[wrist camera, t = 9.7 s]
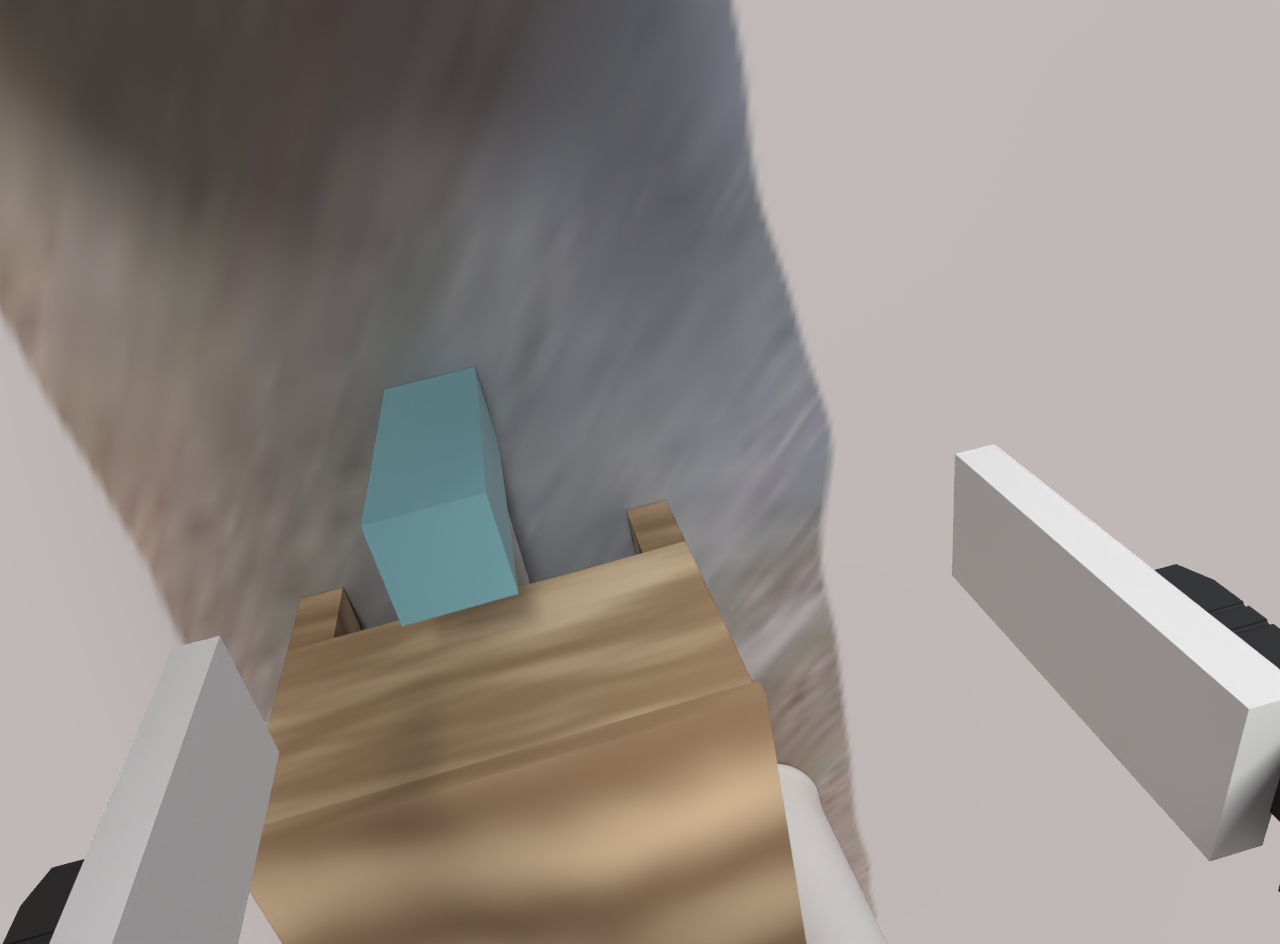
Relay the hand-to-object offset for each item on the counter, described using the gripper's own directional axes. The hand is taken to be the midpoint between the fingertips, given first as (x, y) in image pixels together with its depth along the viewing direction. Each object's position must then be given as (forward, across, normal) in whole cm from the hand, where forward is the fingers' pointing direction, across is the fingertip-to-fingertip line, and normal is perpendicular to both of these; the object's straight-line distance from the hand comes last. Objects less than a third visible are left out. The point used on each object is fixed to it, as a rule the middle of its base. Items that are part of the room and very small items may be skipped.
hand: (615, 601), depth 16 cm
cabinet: (+24, -4, -20) cm, 31 cm away
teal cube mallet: (+24, -4, -17) cm, 30 cm away
